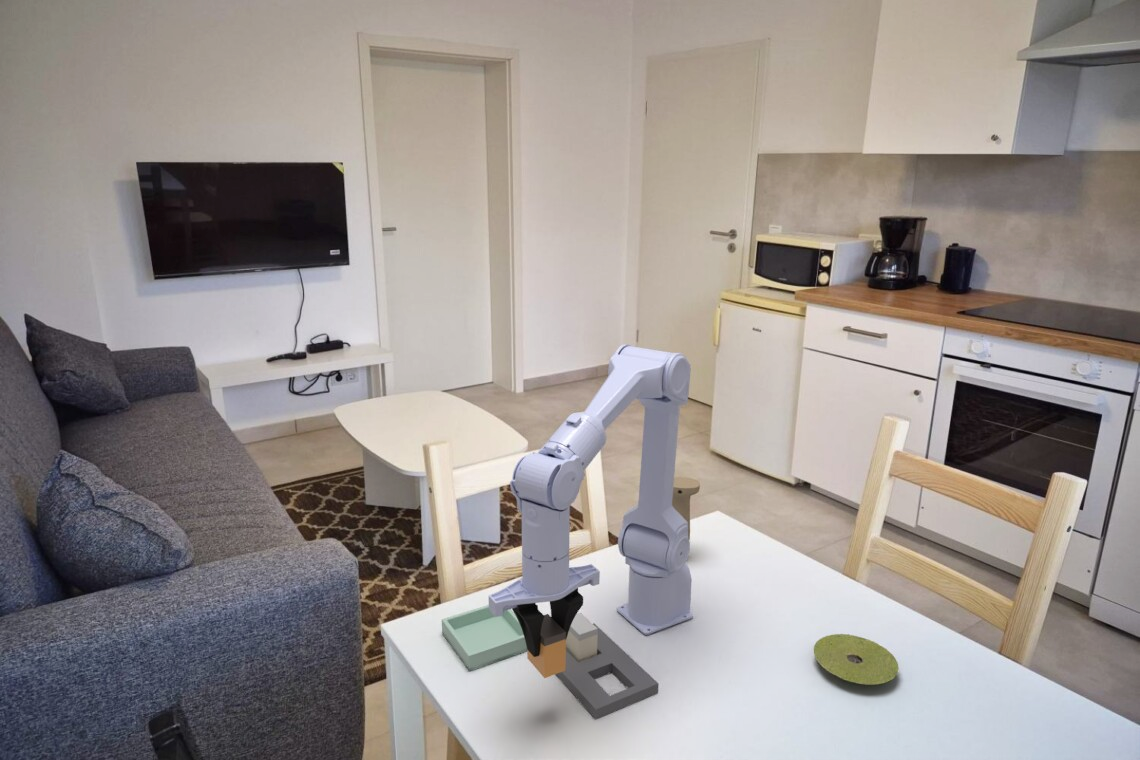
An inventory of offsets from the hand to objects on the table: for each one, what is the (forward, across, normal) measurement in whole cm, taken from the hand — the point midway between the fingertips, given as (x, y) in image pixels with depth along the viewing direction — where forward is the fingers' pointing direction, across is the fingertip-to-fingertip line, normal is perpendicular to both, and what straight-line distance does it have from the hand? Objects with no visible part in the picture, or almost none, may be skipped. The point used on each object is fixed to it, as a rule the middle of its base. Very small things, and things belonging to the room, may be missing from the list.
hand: (545, 647), depth 94 cm
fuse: (+10, -10, -8) cm, 16 cm away
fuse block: (+10, -10, -4) cm, 15 cm away
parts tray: (+10, 0, -18) cm, 20 cm away
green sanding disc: (+10, -42, +14) cm, 45 cm away
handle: (+10, -40, -23) cm, 47 cm away
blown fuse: (+2, 0, 0) cm, 2 cm away
